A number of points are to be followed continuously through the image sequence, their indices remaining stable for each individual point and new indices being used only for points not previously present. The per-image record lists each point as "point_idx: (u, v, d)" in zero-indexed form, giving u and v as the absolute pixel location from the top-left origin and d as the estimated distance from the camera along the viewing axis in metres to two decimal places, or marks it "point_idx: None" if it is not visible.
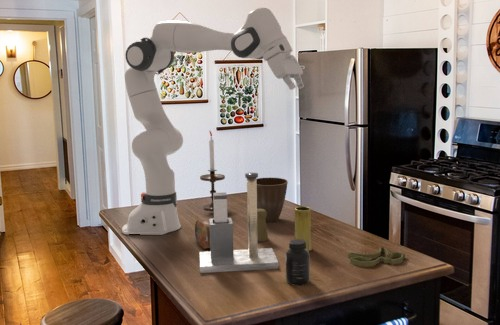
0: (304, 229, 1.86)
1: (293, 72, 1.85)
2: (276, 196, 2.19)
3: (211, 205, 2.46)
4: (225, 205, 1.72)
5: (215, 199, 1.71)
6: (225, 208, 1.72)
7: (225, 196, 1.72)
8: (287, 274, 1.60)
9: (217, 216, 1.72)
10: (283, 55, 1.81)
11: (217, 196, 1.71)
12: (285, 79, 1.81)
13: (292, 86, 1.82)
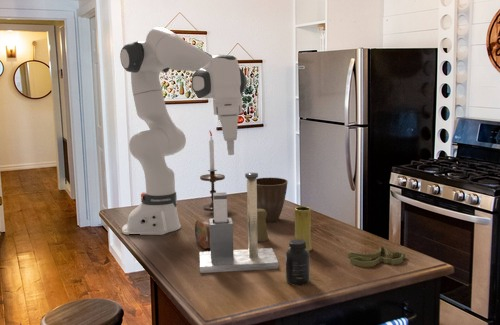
0: (304, 229, 1.86)
1: None
2: (276, 196, 2.19)
3: (211, 205, 2.46)
4: (225, 205, 1.72)
5: (215, 199, 1.71)
6: (225, 208, 1.72)
7: (225, 196, 1.72)
8: (287, 274, 1.60)
9: (217, 216, 1.72)
10: None
11: (217, 196, 1.71)
12: (229, 143, 1.65)
13: (232, 152, 1.67)
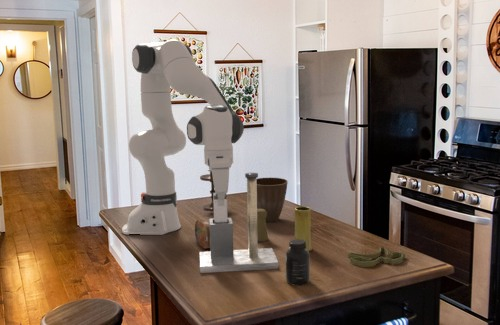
0: (304, 229, 1.86)
1: None
2: (276, 196, 2.19)
3: (211, 205, 2.46)
4: (225, 205, 1.72)
5: (215, 199, 1.71)
6: (225, 208, 1.72)
7: (225, 196, 1.72)
8: (287, 274, 1.60)
9: (217, 216, 1.72)
10: None
11: (217, 196, 1.71)
12: (220, 195, 1.67)
13: (222, 203, 1.68)
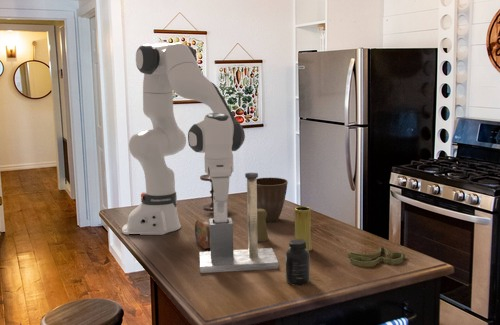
0: (304, 229, 1.86)
1: None
2: (276, 196, 2.19)
3: (211, 205, 2.46)
4: (225, 205, 1.72)
5: None
6: (225, 208, 1.72)
7: None
8: (287, 274, 1.60)
9: (217, 216, 1.72)
10: None
11: None
12: None
13: (222, 210, 1.71)
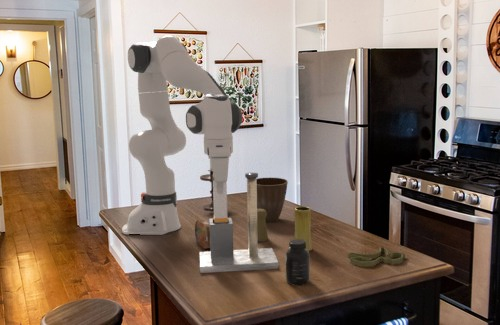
0: (304, 229, 1.86)
1: None
2: (276, 196, 2.19)
3: (211, 205, 2.46)
4: (224, 186, 1.71)
5: None
6: (224, 189, 1.71)
7: None
8: (287, 274, 1.60)
9: (217, 197, 1.71)
10: None
11: None
12: (219, 183, 1.68)
13: (221, 191, 1.70)
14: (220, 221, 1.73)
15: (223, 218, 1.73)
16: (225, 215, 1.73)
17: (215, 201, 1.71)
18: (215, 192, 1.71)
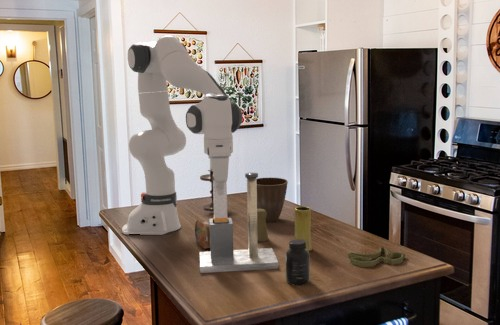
0: (304, 229, 1.86)
1: None
2: (276, 196, 2.19)
3: (211, 205, 2.46)
4: (224, 186, 1.71)
5: (214, 180, 1.70)
6: (224, 189, 1.71)
7: None
8: (287, 274, 1.60)
9: (217, 197, 1.71)
10: None
11: None
12: (219, 184, 1.66)
13: (221, 192, 1.68)
14: (220, 221, 1.73)
15: (223, 217, 1.73)
16: (225, 215, 1.73)
17: (215, 201, 1.71)
18: (215, 192, 1.71)
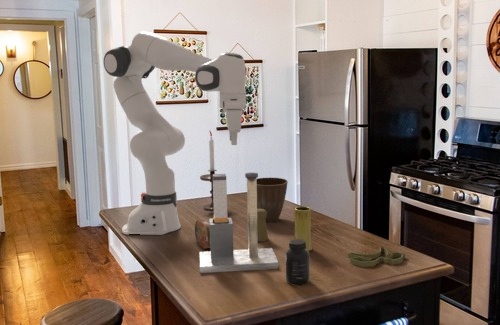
0: (304, 229, 1.86)
1: None
2: (276, 196, 2.19)
3: (211, 205, 2.46)
4: (224, 186, 1.71)
5: (214, 180, 1.70)
6: (224, 189, 1.71)
7: (224, 177, 1.71)
8: (287, 274, 1.60)
9: (217, 197, 1.71)
10: None
11: (216, 177, 1.70)
12: (233, 134, 1.83)
13: (235, 143, 1.84)
14: (220, 221, 1.73)
15: (223, 217, 1.73)
16: (225, 215, 1.73)
17: (215, 201, 1.71)
18: (215, 192, 1.71)
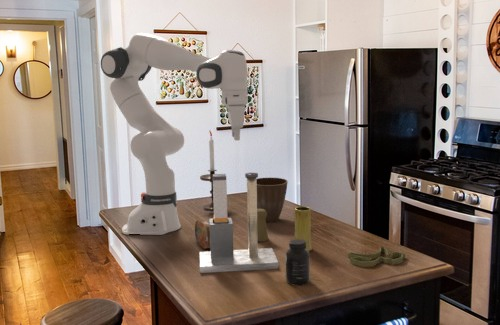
0: (304, 229, 1.86)
1: None
2: (276, 196, 2.19)
3: (211, 205, 2.46)
4: (224, 186, 1.71)
5: (214, 180, 1.70)
6: (224, 189, 1.71)
7: (224, 177, 1.71)
8: (287, 274, 1.60)
9: (217, 197, 1.71)
10: None
11: (216, 177, 1.70)
12: (236, 130, 1.86)
13: (238, 138, 1.88)
14: (220, 221, 1.73)
15: (223, 217, 1.73)
16: (225, 215, 1.73)
17: (215, 201, 1.71)
18: (215, 192, 1.71)
